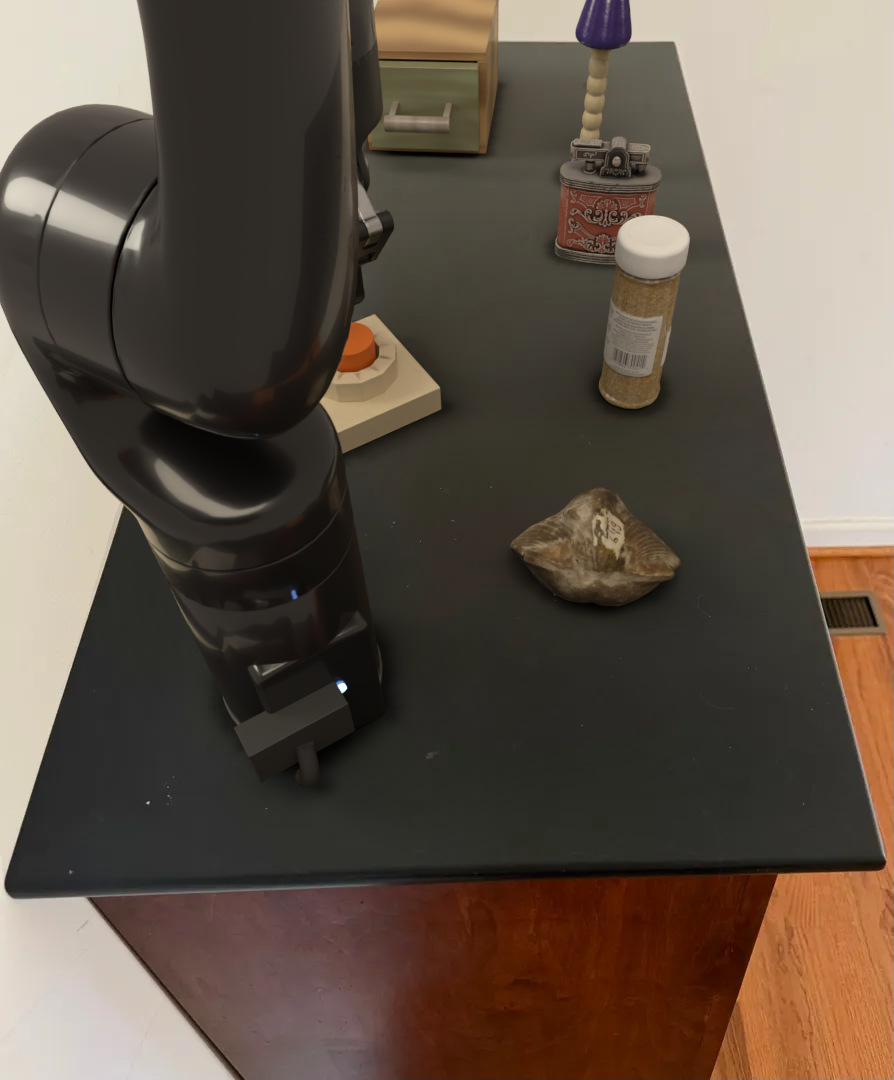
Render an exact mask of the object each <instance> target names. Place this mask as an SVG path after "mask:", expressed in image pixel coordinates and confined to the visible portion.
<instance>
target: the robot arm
mask: <svg viewBox="0 0 894 1080" xmlns="http://www.w3.org/2000/svg"><path fill="white" fill-rule="evenodd" d="M135 1H136V7H137V11H138V15H139V21H140V26H141V31H142V35H143V36H142V37H143V38H142V39H143V43H144V44H143V45H144V51H145V52H144V53H145V59H146V66H147V72H148V80H149V89H150V98H151V108H152V113H150V112H149V113H148V112H145V111H142V110H139V109H135V108H131V107H127V106H122V105H115V104H105V103H89V104H88V103H87V104H80V105H75V106H72V107H68V108H65V109H63V110H59V111H57V112H54V113H53V114H51V115H49V116H47V117H46V118H44V119H42V120H40V121H38V123H36V124H35V125H34V126H32V127H31V128H30V129H29V130H28V131H27V132H26V133H25V134H24V135H23V136H22V137H21V138H20V139H19V140H18V141H17V143H16V144H15V146H14V147H13V149H12V150H11V152H10V153H9V154H8V156H7V158H6V160H5V162H4V164H3V166H2V168H1V170H0V306H1V309H2V312H3V314H4V316H5V319H6V321H7V323H8V325H9V328H10V331H11V333H12V335H13V337H14V339H15V341H16V343H17V345H18V347H19V349H20V351H21V352H22V354H23V356H24V359H25V360H26V362H27V364H28V365H29V367H30V369H31V370H32V372H33V374H34V376H35V377H36V379H37V381H38V383H39V385H40V387H41V388H42V390H43V391H44V393H45V395H46V397H47V398H48V400H49V402H50V404H51V405H52V408H53V409H54V410H55V412H56V415H58V418H59V419H60V421H61V422H62V424H63V425H64V427H65V430H66V431H67V433H68V435H69V437H70V438H71V439H72V441H73V443H74V445H75V446H76V449H77V450H78V452H79V453H80V455H81V457H82V458H83V460H84V462H85V463H86V464H87V466H88V468H89V469H90V471H91V472H92V473H93V475H94V476H95V477H96V479H97V480H98V481H99V482H100V483H101V484H102V486H103V487H104V488H105V489H106V490H107V491H108V492H109V493H110V494H111V495H112V496H113V497H114V498H115V499H117V500H118V501H119V503H121V504H122V505H123V506H124V507H125V508H126V509H127V510H128V511H129V512H130V513H131V514H132V515H133V516H134V518H136V520H137V522H138V524H139V527H140V528H141V530H142V532H143V535H144V537H145V539H146V540H147V541H146V542H147V543H148V545H149V547H150V549H151V551H152V553H153V555H154V557H155V559H156V561H157V564H158V566H159V567H160V570H161V572H162V575H163V577H164V579H165V581H166V583H167V585H168V587H169V589H170V591H171V593H172V595H173V597H174V600H175V601H176V604H177V605H178V608H179V610H180V613H181V614H182V616H183V618H184V620H185V622H186V624H187V626H188V628H189V631H190V633H191V634H192V637H193V638H194V641H195V642H196V646H197V647H198V649H199V651H200V653H201V655H202V657H203V659H204V661H205V663H206V666H207V668H208V670H209V672H210V674H211V676H212V678H213V680H214V682H215V684H216V686H217V687H218V689H219V691H220V694H221V695H222V700H223V702H224V706H225V708H226V711H227V712H228V715H229V716H230V719H231V720H232V721H233V723H234V724H235V726H234V727H233V729H234V731H235V733H236V735H237V738H238V740H239V741H240V744H241V746H242V747H243V749H244V751H245V754H246V756H247V757H248V759H249V760H248V761H249V762H250V764H251V766H252V768H253V770H254V772H255V773H256V776H257V778H258V780H259V782H260V783H263V782H265V781H267V780H269V779H270V778H272V777H274V776H276V775H277V774H280V773H281V772H283V771H285V770H286V769H288V768H291V767H292V766H294V765H296V764H297V763H298V767H299V769H298V770H296V773H295V780H296V782H297V784H298V785H300V786H302V787H303V788H307V789H312V788H314V787H315V786H317V785H318V783H319V780H320V777H321V771H320V764H319V760H318V755H317V752H320V751H322V750H323V749H325V748H326V747H328V746H330V745H332V744H334V743H336V742H337V741H339V740H341V739H343V738H345V737H346V736H348V735H350V734H352V733H354V732H355V731H356V730H357V729H359V728H361V727H363V726H365V725H366V724H368V723H370V722H372V721H374V720H375V719H377V718H379V717H381V716H383V715H384V714H385V713H386V707H385V701H384V697H383V691H382V687H383V680H384V666H383V664H384V663H383V660H382V654H381V650H380V647H379V644H378V640H377V635H376V629H375V625H374V620H373V615H372V610H371V604H370V599H369V593H368V588H367V584H366V578H365V572H364V567H363V561H362V556H361V550H360V545H359V540H358V533H357V528H356V523H355V517H354V512H353V505H352V500H351V495H350V490H349V489H350V488H349V482H348V477H347V472H346V466H345V459H344V455H343V454H344V453H342V448H341V444H340V439H339V436H338V433H337V430H336V427H335V425H334V423H333V421H332V419H331V417H330V415H329V414H328V412H327V411H326V409H325V408H324V407H323V405H322V404H321V403H320V401H321V399H322V398H323V397H324V395H325V394H326V392H327V390H328V388H329V386H330V384H331V382H332V380H333V378H334V376H335V374H336V372H337V370H338V367H339V364H340V362H341V359H342V356H343V353H344V349H345V346H346V343H347V340H348V337H349V332H350V327H351V322H353V316H354V312H355V306H357V305H359V304H361V303H362V302H363V301H364V300H365V297H366V294H365V288H364V287H365V285H364V280H363V279H364V278H363V271H362V266H364V265H367V264H369V263H372V262H374V261H377V260H378V257H379V256H380V254H381V253H382V251H383V249H384V247H385V246H386V244H387V243H388V241H389V239H390V237H391V236H392V234H393V232H394V231H395V221H394V218H393V216H392V213H391V212H390V211H389V210H388V209H384V210H381V211H380V210H375V208H374V206H373V204H372V201H371V200H370V198H369V195H368V190H369V187H370V185H371V175H370V167H369V166H370V165H369V160H368V158H367V157H366V154H365V153H364V150H363V146H364V144H365V142H366V140H367V139H368V135H369V134H370V133H371V132H372V130H373V129H374V128H375V127H376V126H377V125H378V123H379V121H380V119H381V117H382V113H383V99H382V88H381V77H380V67H379V56H378V45H377V35H376V25H375V14H374V9H375V5H374V0H135Z"/></svg>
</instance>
